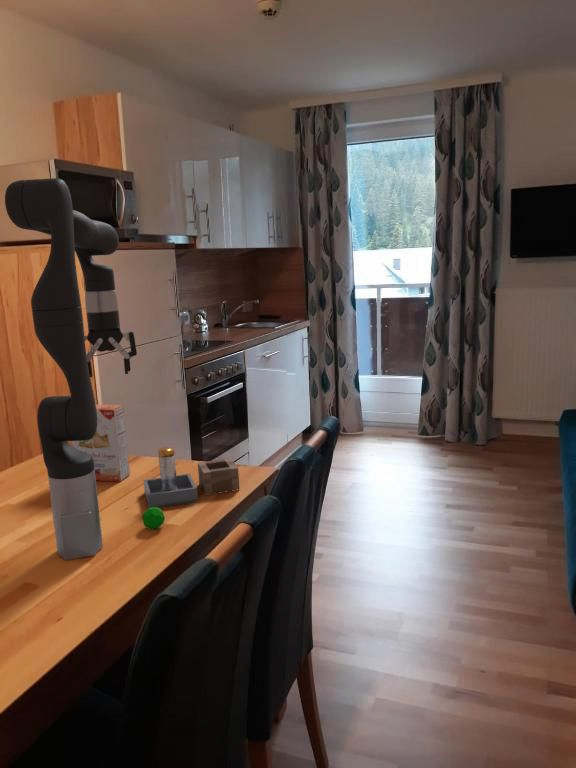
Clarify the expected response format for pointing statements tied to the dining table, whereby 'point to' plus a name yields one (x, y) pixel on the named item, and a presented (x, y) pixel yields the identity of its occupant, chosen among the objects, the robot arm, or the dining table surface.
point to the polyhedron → (153, 518)
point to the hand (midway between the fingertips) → (109, 375)
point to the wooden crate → (218, 476)
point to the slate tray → (170, 492)
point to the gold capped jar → (167, 469)
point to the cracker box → (108, 444)
